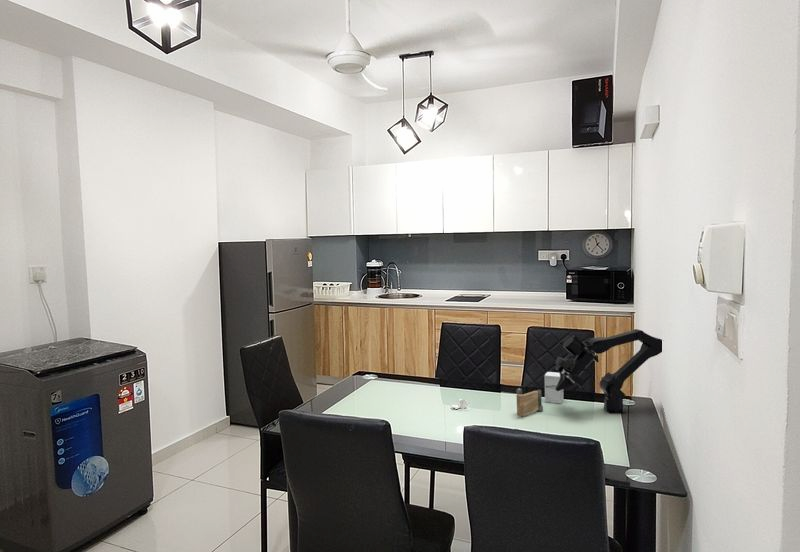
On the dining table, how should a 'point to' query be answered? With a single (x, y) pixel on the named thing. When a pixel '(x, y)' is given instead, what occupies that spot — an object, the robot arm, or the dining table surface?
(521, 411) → the wooden plank panel
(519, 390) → the post
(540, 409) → the hinge base
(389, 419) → the dining table surface
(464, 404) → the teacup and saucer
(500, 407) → the dining table surface
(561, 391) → the supplement box
